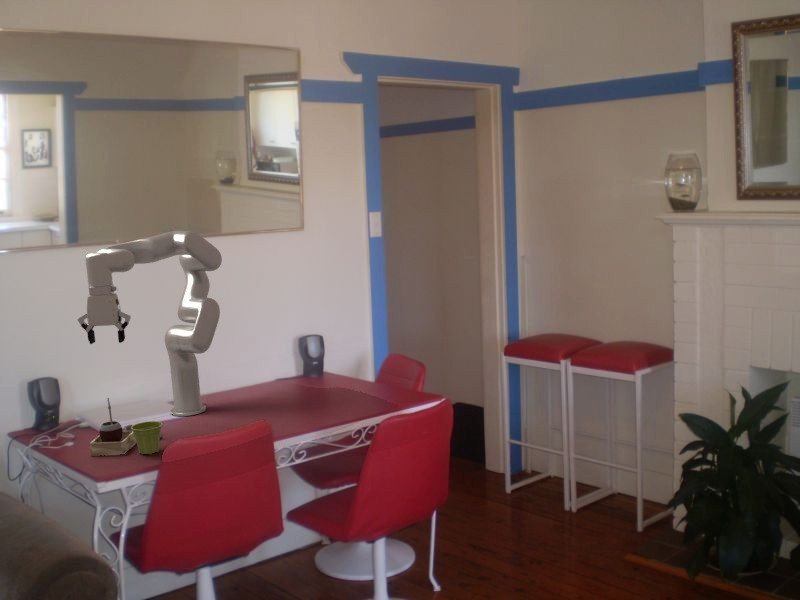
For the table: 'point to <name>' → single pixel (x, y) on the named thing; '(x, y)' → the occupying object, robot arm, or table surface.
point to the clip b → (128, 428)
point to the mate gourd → (110, 429)
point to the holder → (113, 445)
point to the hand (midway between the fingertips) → (107, 342)
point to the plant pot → (147, 436)
